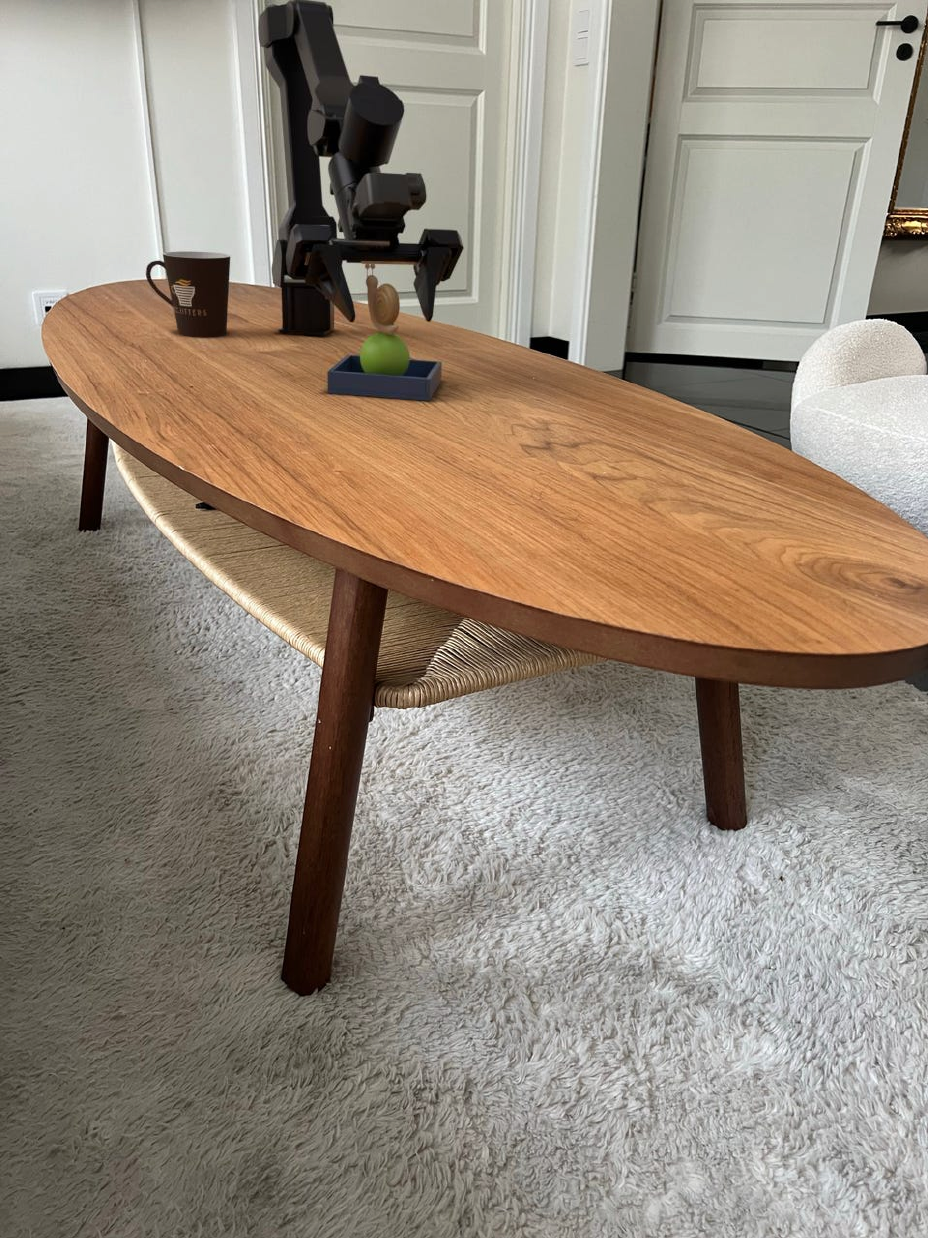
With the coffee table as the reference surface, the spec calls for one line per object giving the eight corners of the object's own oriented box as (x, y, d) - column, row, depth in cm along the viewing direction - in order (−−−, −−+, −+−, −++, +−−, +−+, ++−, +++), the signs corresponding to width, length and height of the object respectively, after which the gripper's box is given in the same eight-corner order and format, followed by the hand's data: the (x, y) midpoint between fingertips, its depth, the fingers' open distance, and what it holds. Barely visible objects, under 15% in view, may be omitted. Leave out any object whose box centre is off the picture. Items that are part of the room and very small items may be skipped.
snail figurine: (388, 373, 104) (390, 263, 99) (418, 385, 100) (422, 269, 94) (346, 377, 101) (346, 263, 96) (375, 389, 97) (376, 270, 91)
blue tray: (327, 393, 96) (327, 371, 95) (347, 374, 105) (347, 354, 104) (429, 401, 96) (430, 379, 95) (440, 381, 104) (441, 361, 103)
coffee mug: (247, 335, 124) (243, 257, 120) (192, 340, 118) (185, 258, 114) (200, 322, 131) (194, 248, 126) (145, 327, 125) (138, 249, 121)
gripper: (288, 135, 89) (319, 267, 85) (461, 147, 96) (498, 270, 92) (274, 216, 99) (301, 338, 95) (432, 222, 106) (463, 336, 102)
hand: (392, 319), depth 96 cm, fingers open, 8 cm apart
